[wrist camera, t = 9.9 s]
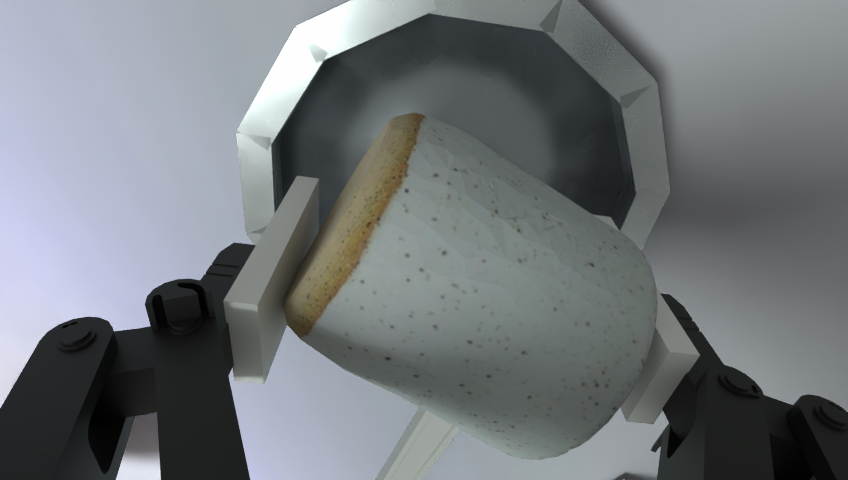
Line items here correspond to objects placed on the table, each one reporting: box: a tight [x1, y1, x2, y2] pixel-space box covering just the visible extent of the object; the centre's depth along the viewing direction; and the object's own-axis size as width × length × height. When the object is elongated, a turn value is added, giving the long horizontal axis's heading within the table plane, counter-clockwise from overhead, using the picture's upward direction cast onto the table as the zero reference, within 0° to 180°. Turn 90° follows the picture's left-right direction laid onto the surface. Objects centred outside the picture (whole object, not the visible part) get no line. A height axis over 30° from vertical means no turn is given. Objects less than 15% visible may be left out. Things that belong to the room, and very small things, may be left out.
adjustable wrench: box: [375, 407, 460, 480], centre depth 30 cm, size 25×6×2 cm, turn 153°
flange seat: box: [236, 0, 671, 251], centre depth 18 cm, size 16×16×2 cm
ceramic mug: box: [283, 112, 657, 459], centre depth 14 cm, size 11×8×8 cm
